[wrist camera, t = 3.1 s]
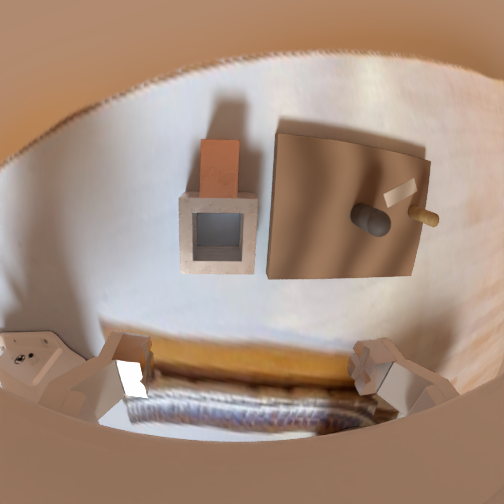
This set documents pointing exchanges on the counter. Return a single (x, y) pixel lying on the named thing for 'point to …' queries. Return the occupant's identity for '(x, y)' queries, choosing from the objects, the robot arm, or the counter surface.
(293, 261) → the post board
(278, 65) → the counter surface
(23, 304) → the counter surface
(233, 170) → the flange
